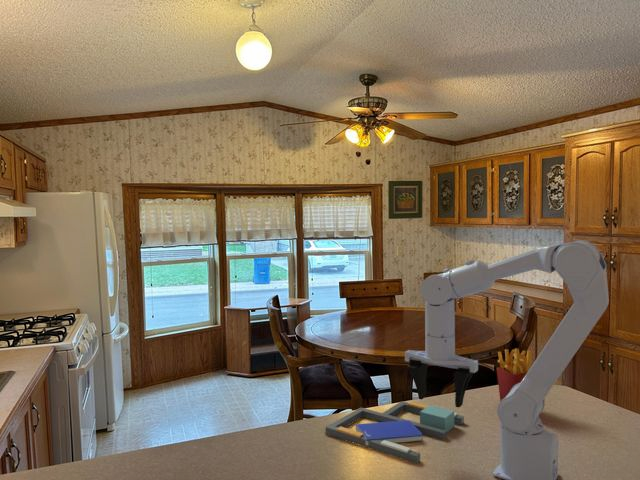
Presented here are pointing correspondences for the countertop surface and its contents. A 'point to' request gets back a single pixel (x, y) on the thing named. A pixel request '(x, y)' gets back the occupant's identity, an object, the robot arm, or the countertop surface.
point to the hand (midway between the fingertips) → (440, 401)
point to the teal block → (437, 417)
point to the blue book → (390, 431)
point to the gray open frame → (384, 446)
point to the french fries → (512, 370)
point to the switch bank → (416, 410)
